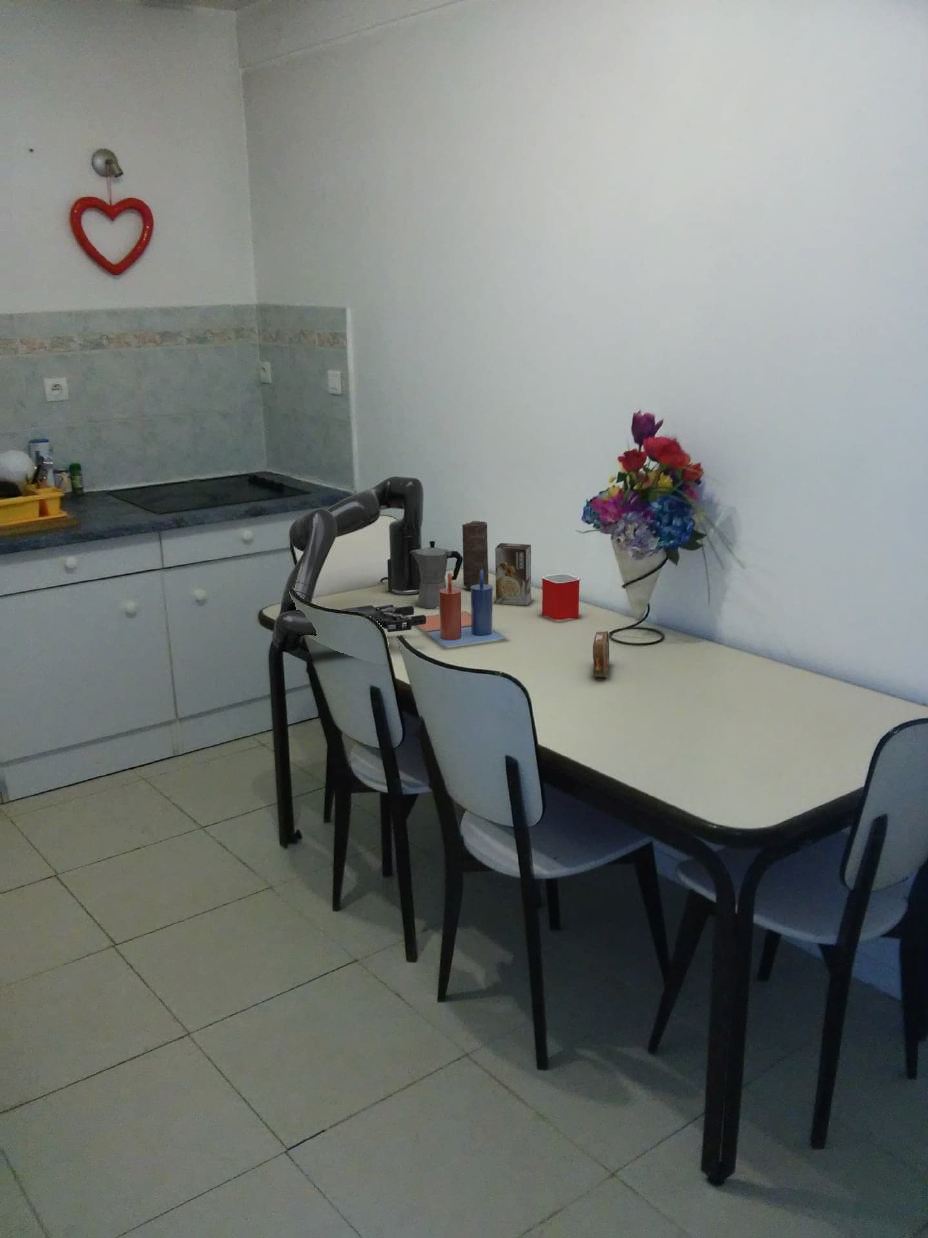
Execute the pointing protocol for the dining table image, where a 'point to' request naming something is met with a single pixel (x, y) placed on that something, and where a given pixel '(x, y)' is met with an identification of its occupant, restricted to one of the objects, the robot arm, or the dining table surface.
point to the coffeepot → (434, 572)
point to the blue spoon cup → (481, 608)
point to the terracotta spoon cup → (450, 612)
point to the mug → (560, 596)
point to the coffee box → (513, 573)
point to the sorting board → (467, 637)
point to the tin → (601, 654)
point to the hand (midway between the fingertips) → (419, 614)
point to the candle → (475, 553)
